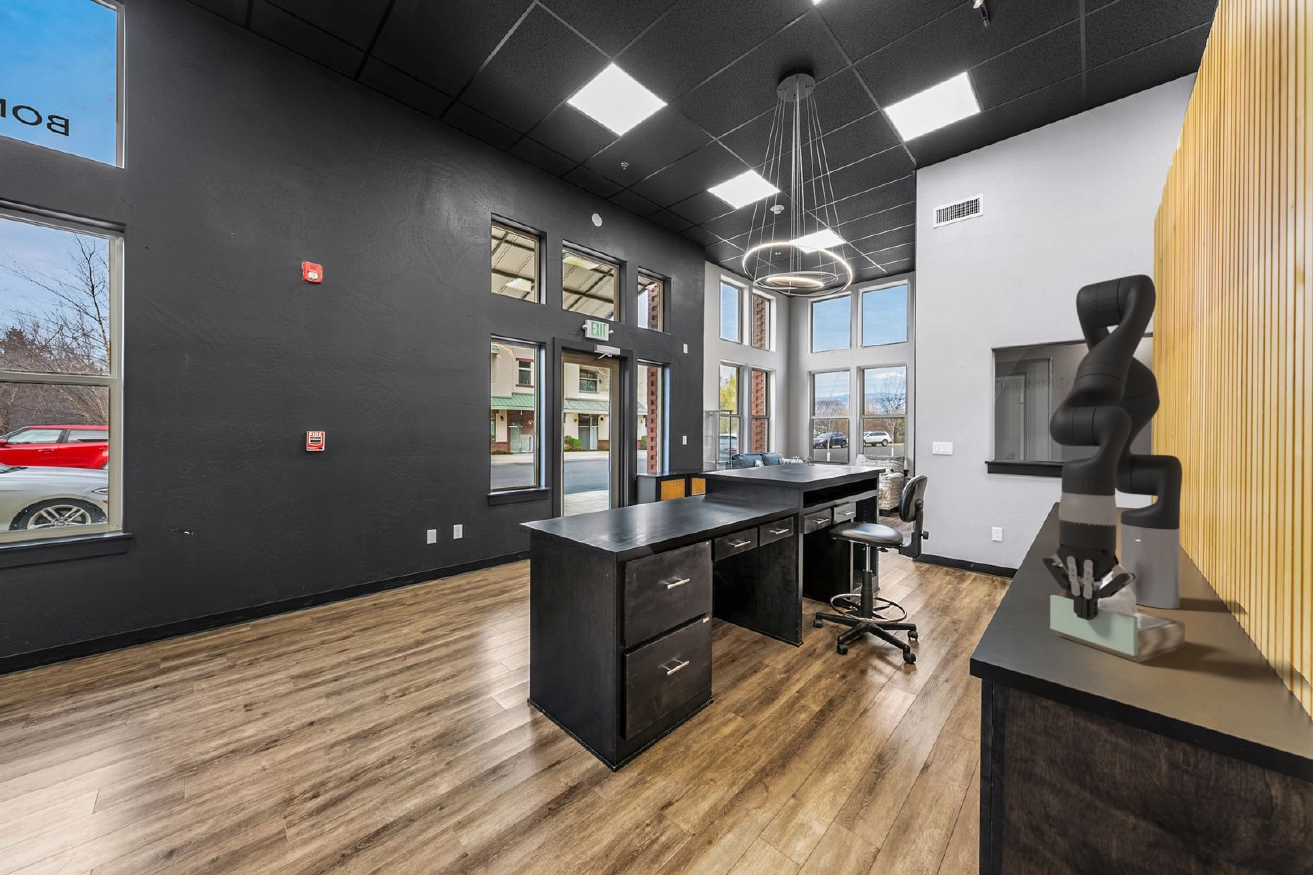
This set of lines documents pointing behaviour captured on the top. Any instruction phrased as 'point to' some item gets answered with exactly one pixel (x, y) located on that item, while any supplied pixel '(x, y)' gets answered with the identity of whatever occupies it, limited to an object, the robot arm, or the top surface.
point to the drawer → (1102, 625)
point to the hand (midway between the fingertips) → (1085, 618)
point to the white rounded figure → (1119, 599)
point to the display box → (1146, 640)
